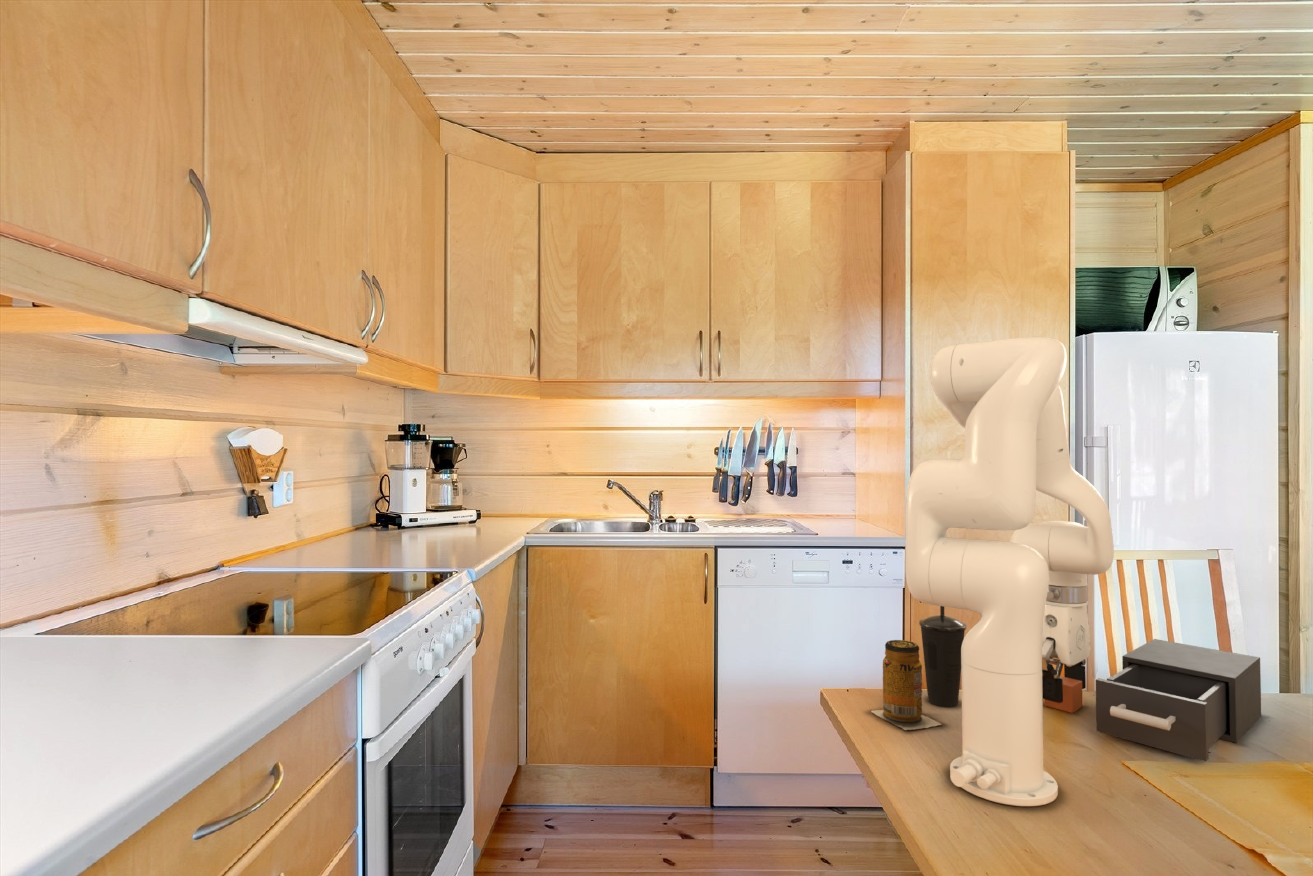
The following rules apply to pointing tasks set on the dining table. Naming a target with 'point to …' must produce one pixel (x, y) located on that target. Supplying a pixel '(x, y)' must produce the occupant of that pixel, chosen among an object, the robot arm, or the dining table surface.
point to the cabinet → (1211, 676)
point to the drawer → (1163, 709)
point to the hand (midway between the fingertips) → (1063, 693)
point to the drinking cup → (942, 657)
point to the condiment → (903, 687)
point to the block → (1069, 696)
